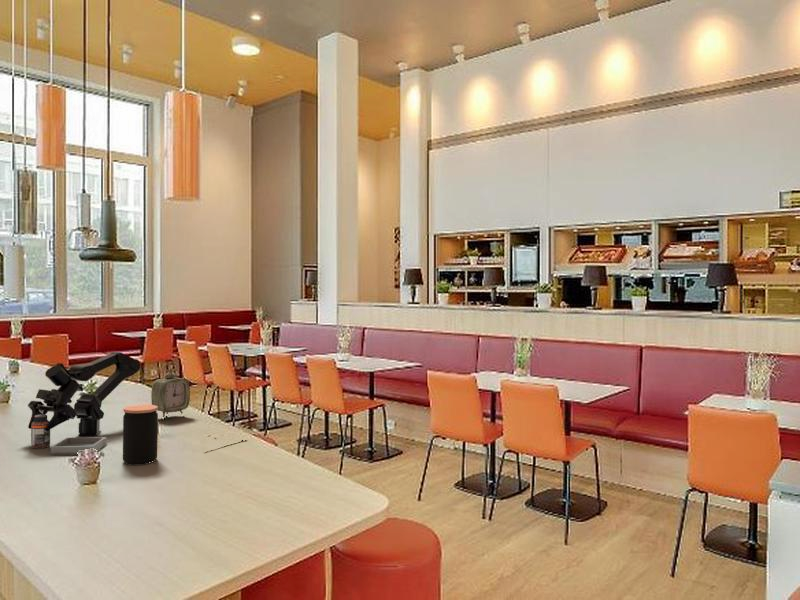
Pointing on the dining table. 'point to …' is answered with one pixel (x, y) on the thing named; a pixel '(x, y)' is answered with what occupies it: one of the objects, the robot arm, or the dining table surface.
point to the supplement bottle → (40, 432)
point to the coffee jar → (140, 434)
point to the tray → (77, 445)
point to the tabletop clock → (170, 392)
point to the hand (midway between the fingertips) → (37, 429)
